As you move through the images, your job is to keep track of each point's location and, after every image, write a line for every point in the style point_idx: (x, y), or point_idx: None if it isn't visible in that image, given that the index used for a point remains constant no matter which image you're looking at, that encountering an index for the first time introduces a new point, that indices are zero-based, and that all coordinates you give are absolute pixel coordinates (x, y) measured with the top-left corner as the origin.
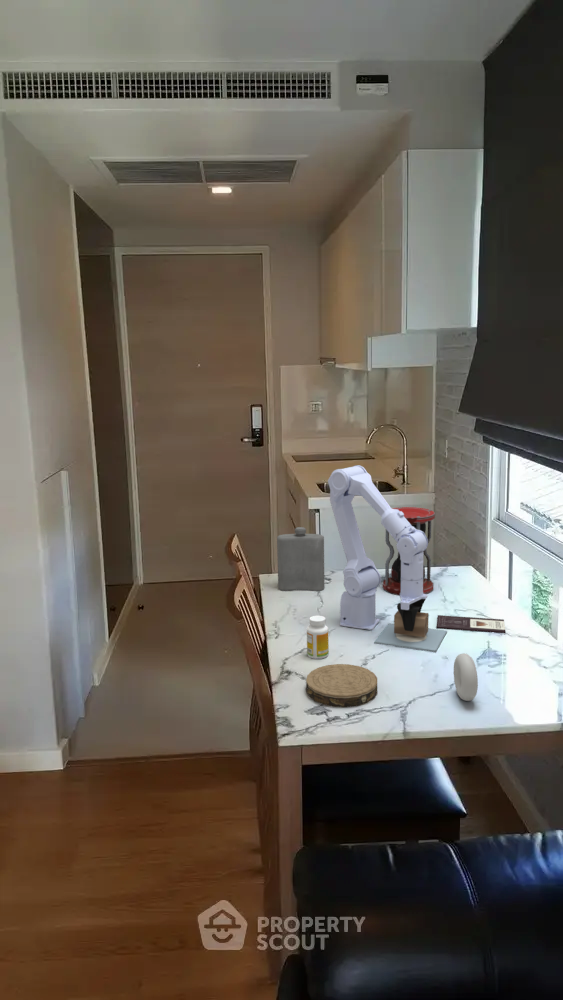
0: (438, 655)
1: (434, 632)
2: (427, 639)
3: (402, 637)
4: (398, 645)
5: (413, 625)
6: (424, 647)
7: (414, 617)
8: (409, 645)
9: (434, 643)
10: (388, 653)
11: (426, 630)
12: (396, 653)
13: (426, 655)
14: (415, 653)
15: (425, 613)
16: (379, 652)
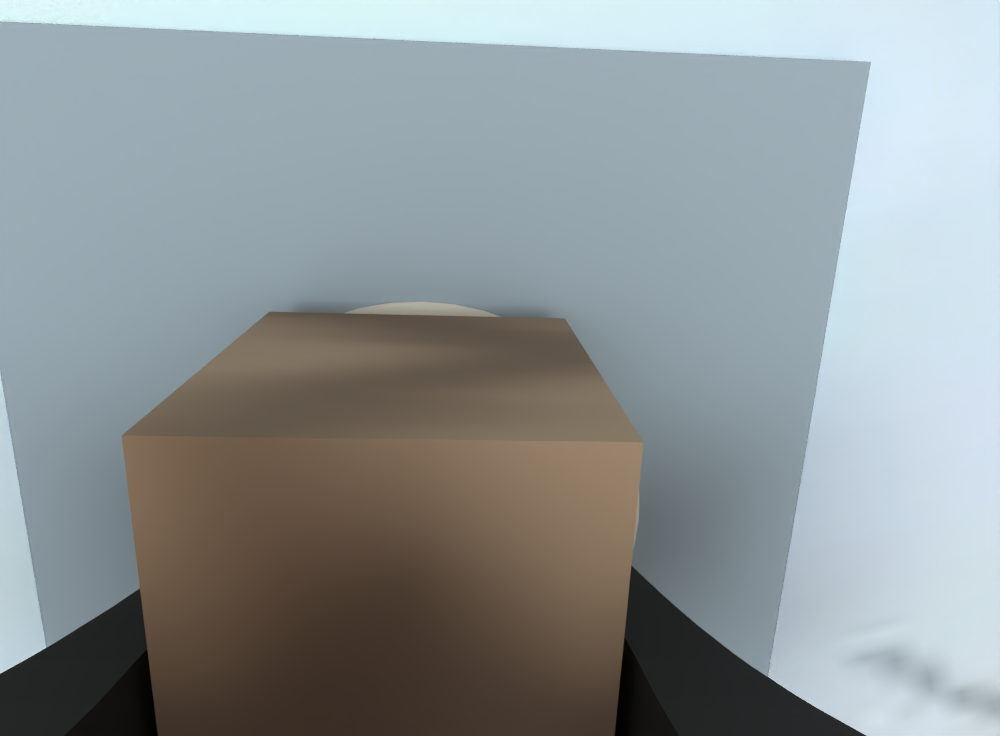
0: (955, 3)
1: (131, 221)
2: (467, 272)
3: None
4: (778, 586)
5: (650, 587)
6: (787, 254)
7: (803, 706)
8: (766, 463)
9: (596, 134)
10: (983, 627)
11: (404, 330)
12: (970, 549)
13: (980, 180)
14: (935, 337)
15: (190, 510)
16: (969, 715)
